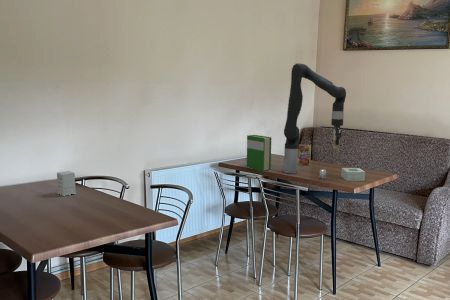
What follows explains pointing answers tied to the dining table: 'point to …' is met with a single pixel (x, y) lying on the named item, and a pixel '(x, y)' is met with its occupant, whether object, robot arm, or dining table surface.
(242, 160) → the dining table surface
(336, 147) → the tall pin
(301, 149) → the candy box
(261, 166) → the hardback book
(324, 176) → the short pin
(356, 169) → the hole block
